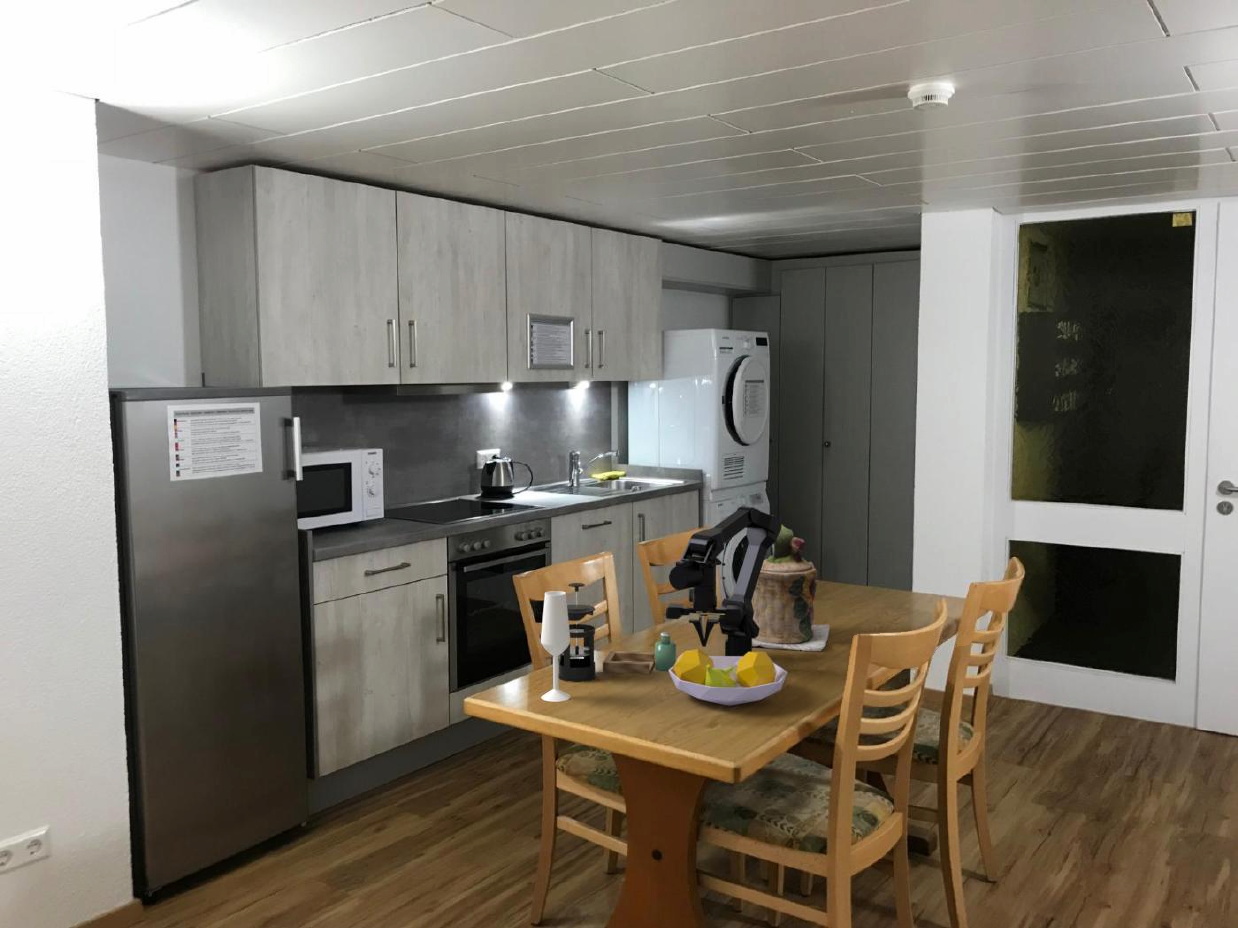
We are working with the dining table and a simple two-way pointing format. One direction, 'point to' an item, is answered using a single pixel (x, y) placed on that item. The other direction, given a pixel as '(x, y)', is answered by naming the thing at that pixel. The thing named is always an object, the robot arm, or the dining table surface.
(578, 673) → the french press
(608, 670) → the shallow wooden tray
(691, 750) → the dining table surface
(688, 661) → the fruit bowl
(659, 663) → the bottle
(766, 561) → the cookie jar
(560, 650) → the champagne flute
